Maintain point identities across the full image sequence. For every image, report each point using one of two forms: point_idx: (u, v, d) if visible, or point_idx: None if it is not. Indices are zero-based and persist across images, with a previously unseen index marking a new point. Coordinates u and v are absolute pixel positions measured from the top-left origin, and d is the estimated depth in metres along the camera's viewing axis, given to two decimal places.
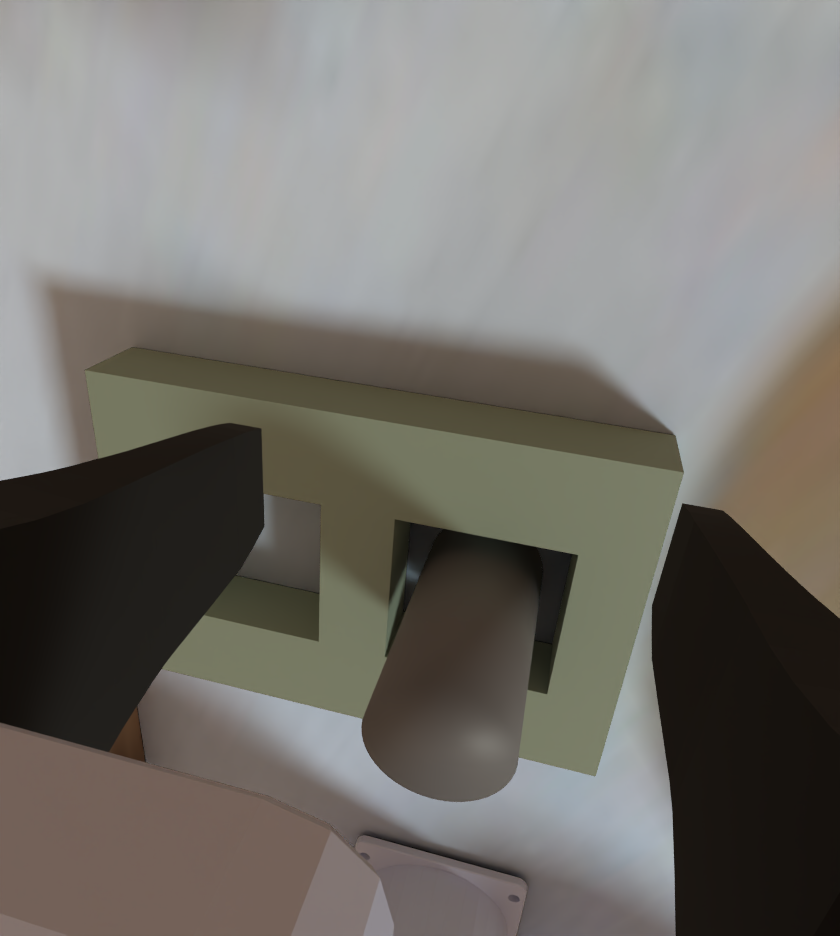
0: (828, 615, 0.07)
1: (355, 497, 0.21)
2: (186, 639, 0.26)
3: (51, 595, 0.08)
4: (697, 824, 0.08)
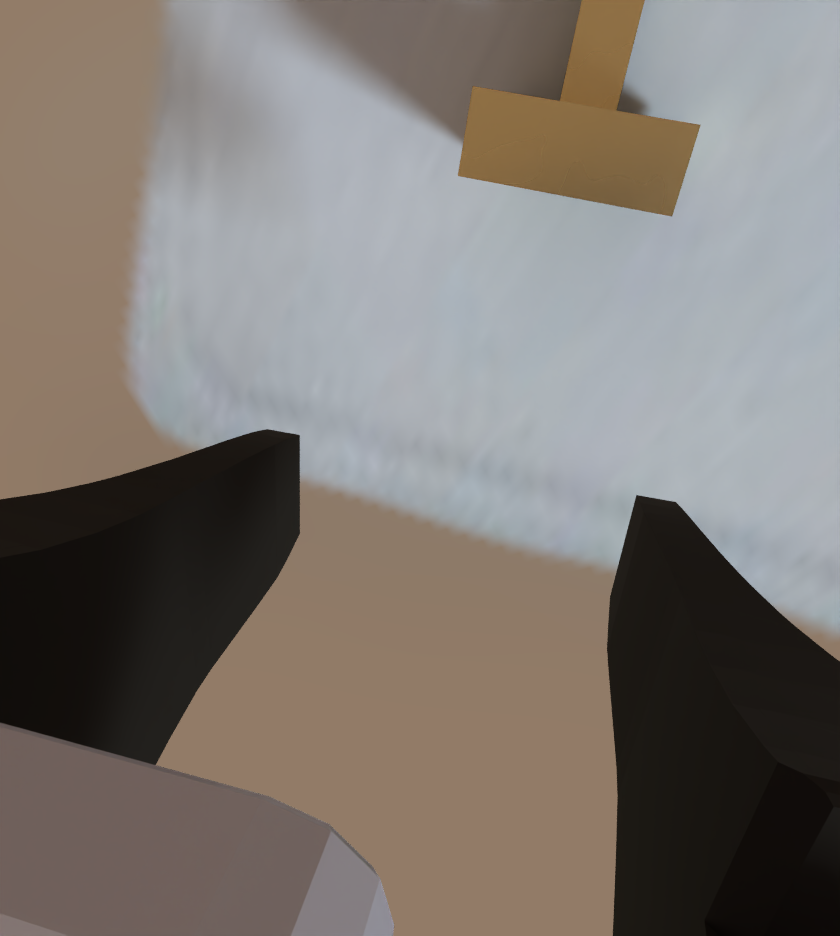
0: (760, 602, 0.08)
1: None
2: None
3: (108, 608, 0.07)
4: (634, 808, 0.08)
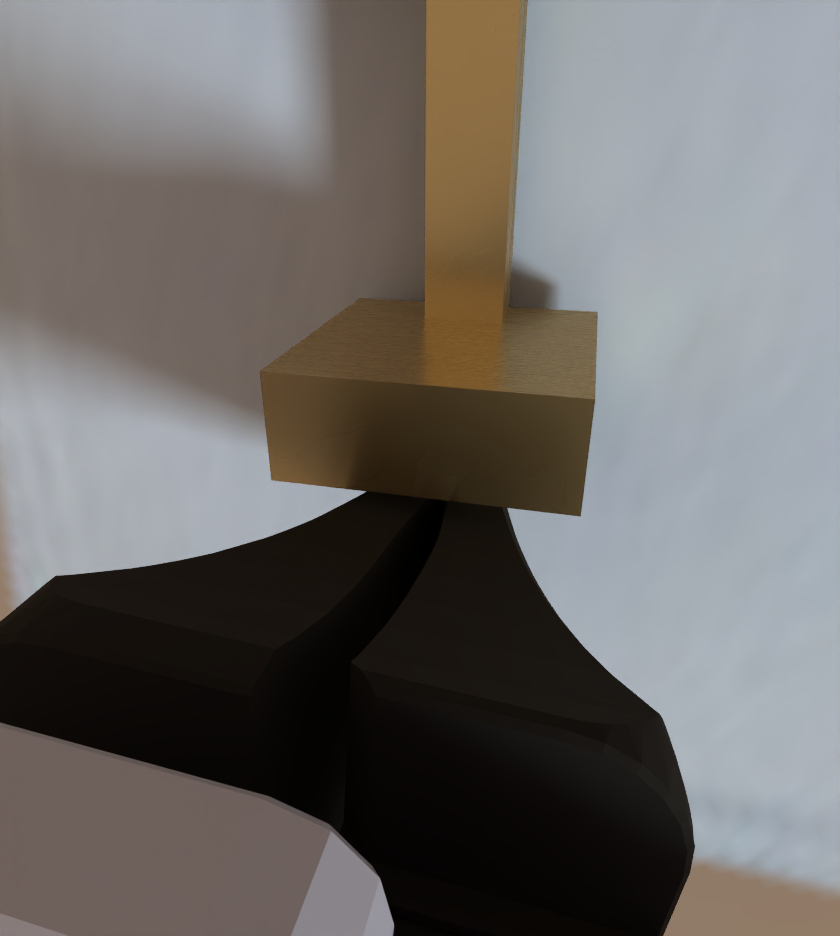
0: (512, 553, 0.08)
1: None
2: None
3: (350, 665, 0.07)
4: None
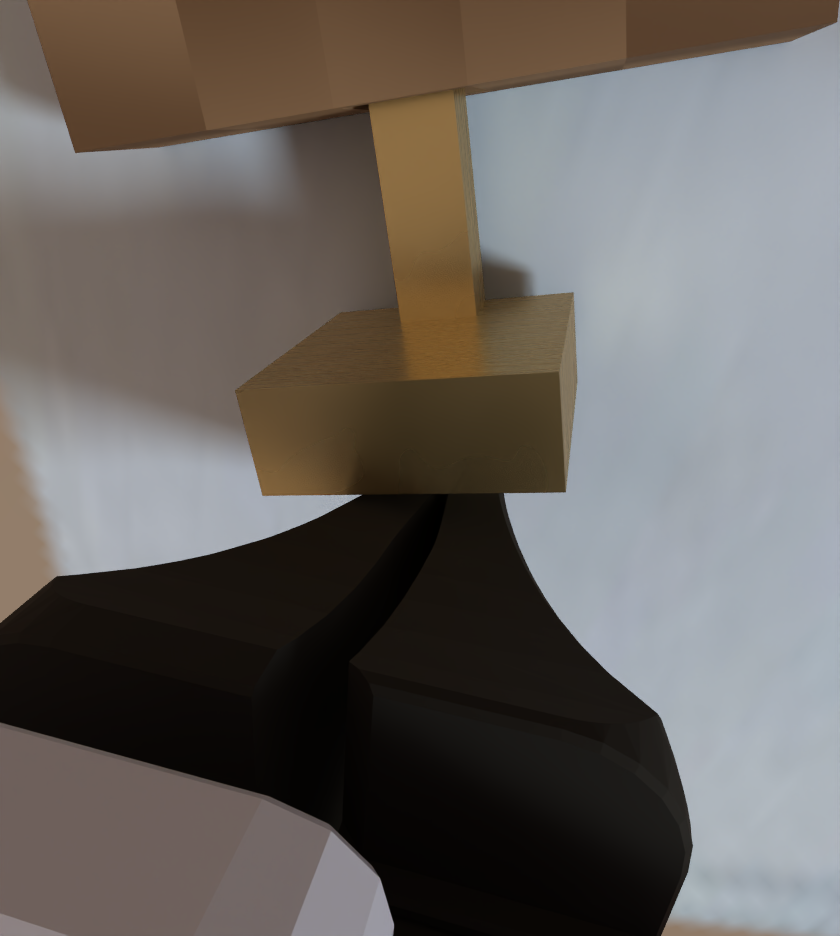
0: (510, 552, 0.08)
1: None
2: None
3: None
4: None
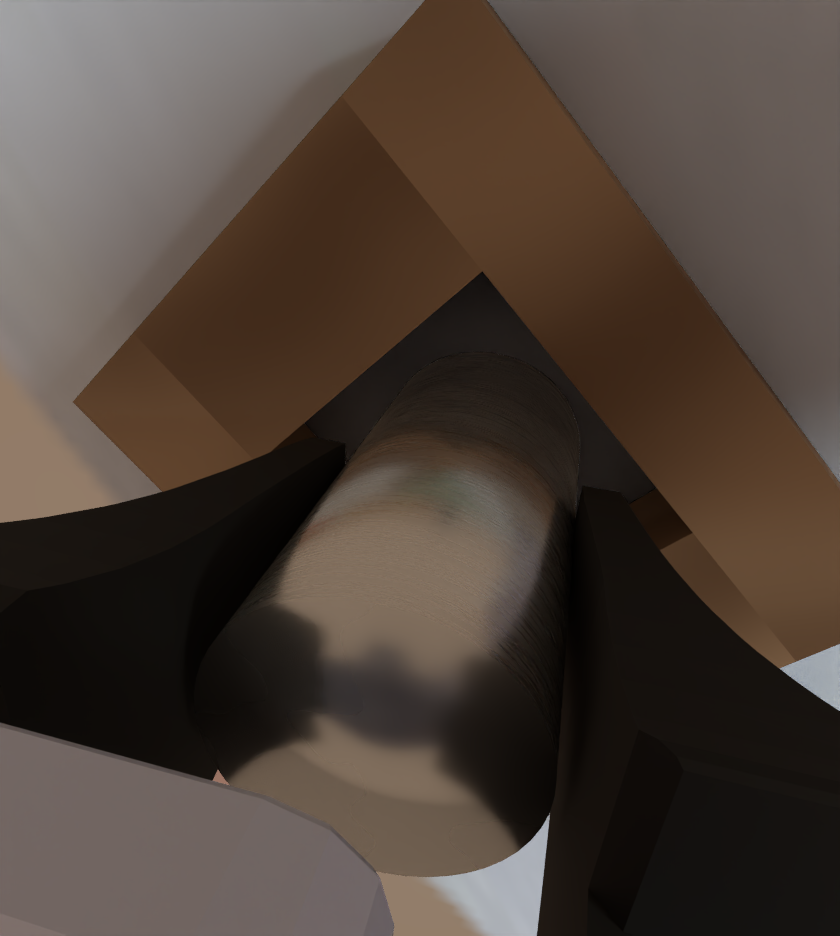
0: (682, 586, 0.08)
1: None
2: None
3: (177, 625, 0.07)
4: (561, 790, 0.08)
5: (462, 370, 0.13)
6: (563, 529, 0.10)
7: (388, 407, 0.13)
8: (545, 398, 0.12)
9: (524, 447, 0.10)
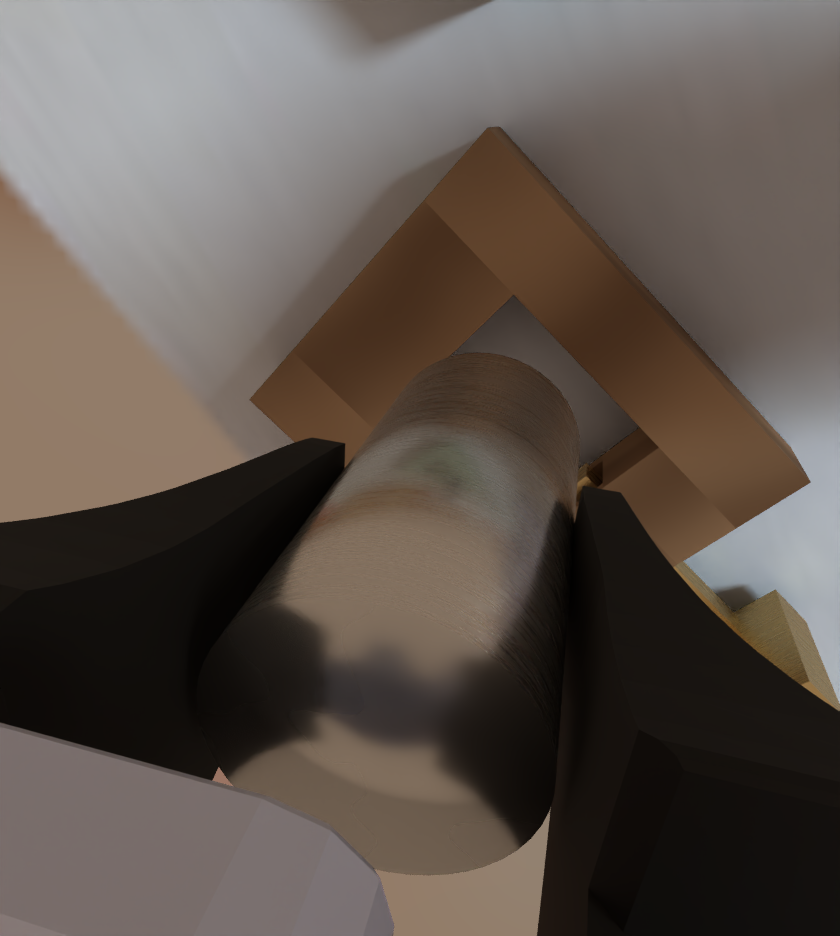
0: (682, 586, 0.08)
1: None
2: None
3: (177, 625, 0.07)
4: (561, 790, 0.08)
5: (462, 371, 0.13)
6: (562, 529, 0.10)
7: (388, 409, 0.13)
8: (545, 398, 0.13)
9: (523, 449, 0.10)
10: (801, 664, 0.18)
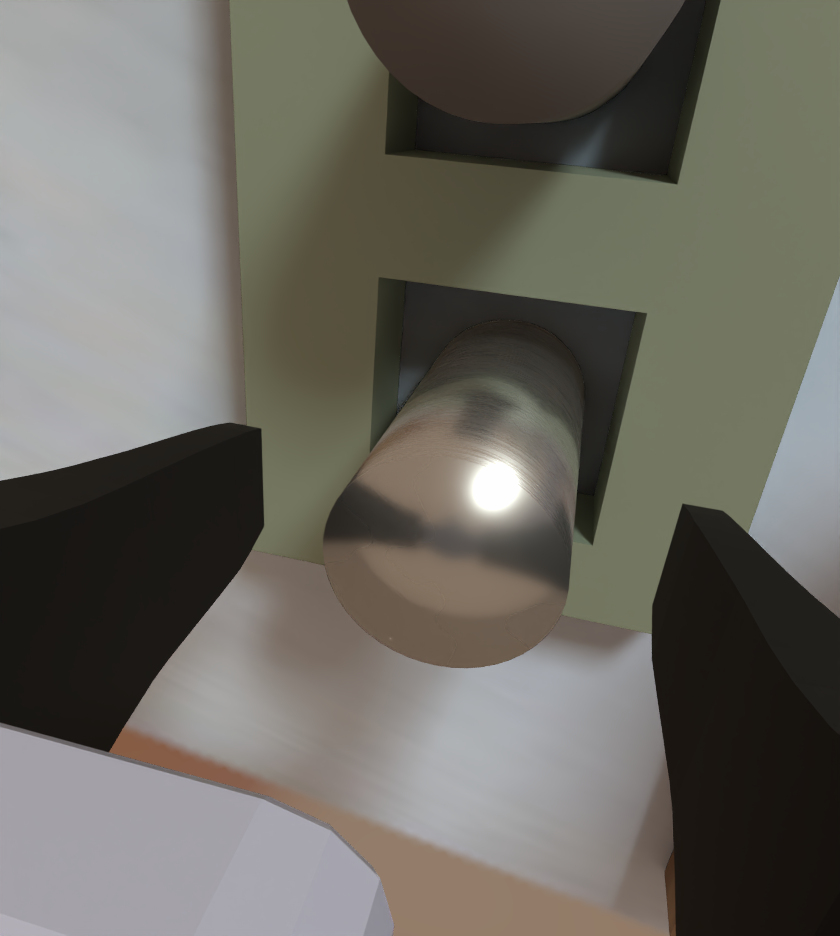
0: (828, 615, 0.07)
1: (358, 219, 0.14)
2: (655, 543, 0.16)
3: (51, 595, 0.08)
4: (697, 824, 0.08)
5: (481, 333, 0.16)
6: (566, 427, 0.13)
7: None
8: (548, 345, 0.16)
9: (531, 375, 0.14)
10: None
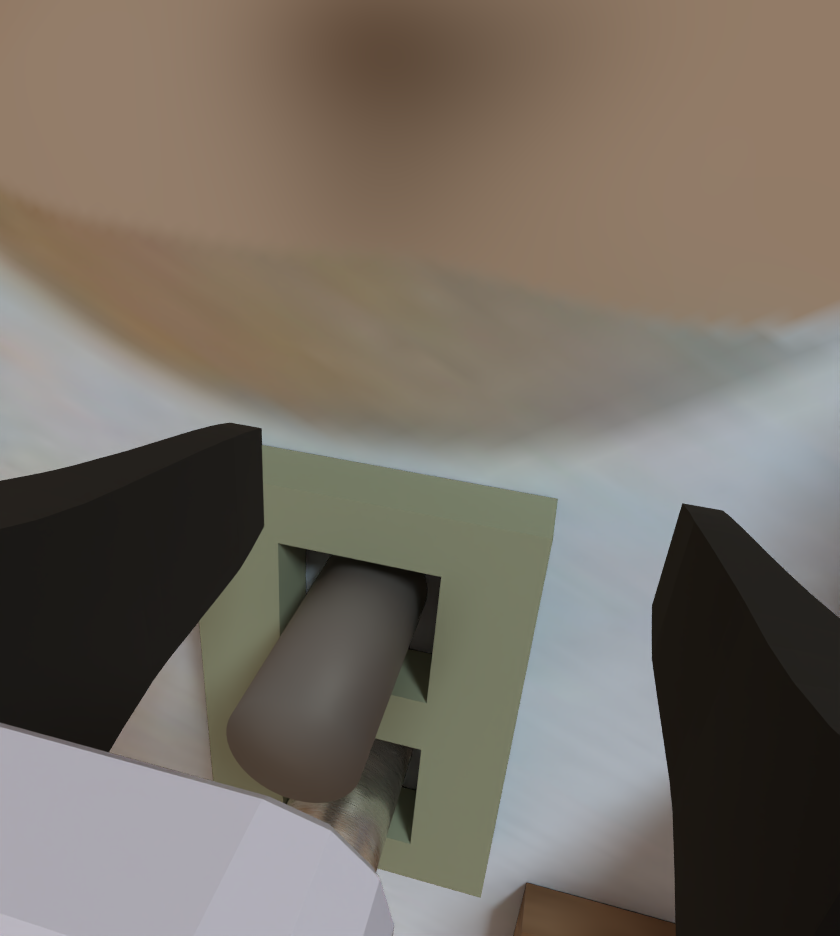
0: (828, 615, 0.07)
1: None
2: (443, 847, 0.28)
3: (51, 595, 0.08)
4: (697, 824, 0.08)
5: None
6: (375, 818, 0.25)
7: None
8: None
9: (361, 781, 0.26)
10: None
